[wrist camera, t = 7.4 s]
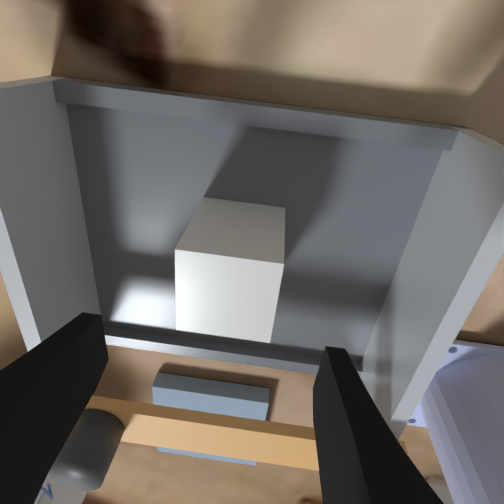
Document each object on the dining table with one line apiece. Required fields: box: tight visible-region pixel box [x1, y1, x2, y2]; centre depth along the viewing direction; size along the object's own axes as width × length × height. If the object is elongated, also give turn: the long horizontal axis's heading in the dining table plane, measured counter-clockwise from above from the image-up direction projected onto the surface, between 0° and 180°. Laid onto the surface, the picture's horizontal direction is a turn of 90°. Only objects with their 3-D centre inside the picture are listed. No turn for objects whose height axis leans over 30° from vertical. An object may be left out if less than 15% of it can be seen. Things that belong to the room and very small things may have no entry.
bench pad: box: [152, 372, 270, 466], centre depth 26 cm, size 8×8×1 cm
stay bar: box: [48, 395, 408, 491], centre depth 16 cm, size 18×2×3 cm, turn 84°
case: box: [0, 76, 504, 440], centre depth 16 cm, size 18×15×6 cm
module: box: [175, 197, 285, 343], centre depth 16 cm, size 4×4×5 cm
